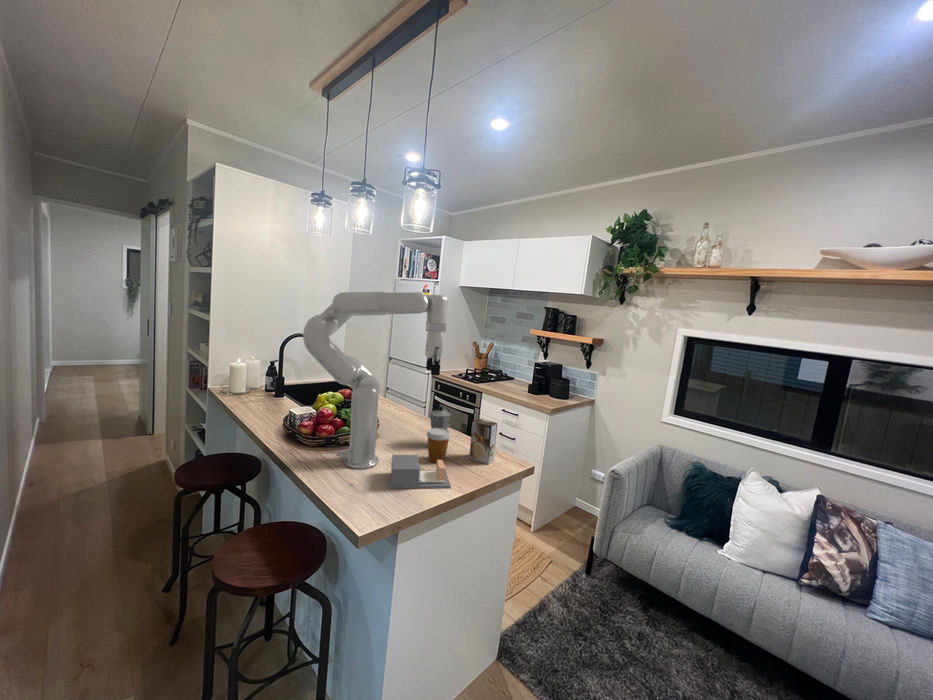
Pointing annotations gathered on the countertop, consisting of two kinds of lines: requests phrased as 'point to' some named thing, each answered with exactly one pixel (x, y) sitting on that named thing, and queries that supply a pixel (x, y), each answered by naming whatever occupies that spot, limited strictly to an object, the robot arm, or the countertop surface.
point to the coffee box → (483, 441)
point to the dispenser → (411, 474)
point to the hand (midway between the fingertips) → (432, 372)
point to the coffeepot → (440, 418)
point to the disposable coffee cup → (437, 443)
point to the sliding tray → (434, 474)
